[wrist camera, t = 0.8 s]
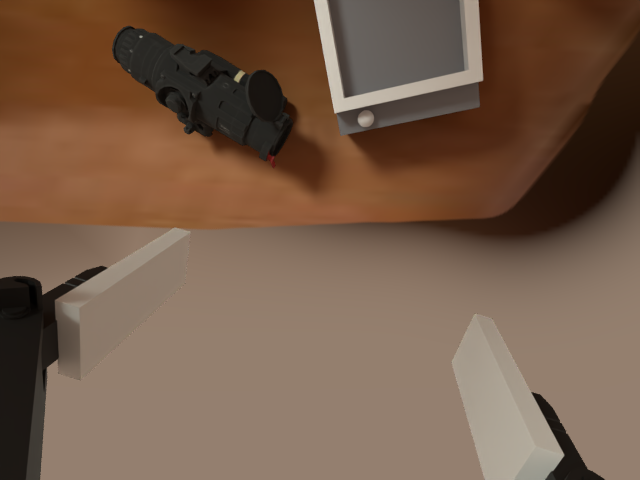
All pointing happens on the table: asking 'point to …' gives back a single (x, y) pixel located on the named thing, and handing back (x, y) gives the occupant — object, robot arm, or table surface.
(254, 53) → the table surface
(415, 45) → the grey tray
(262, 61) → the table surface
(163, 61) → the night vision scope
